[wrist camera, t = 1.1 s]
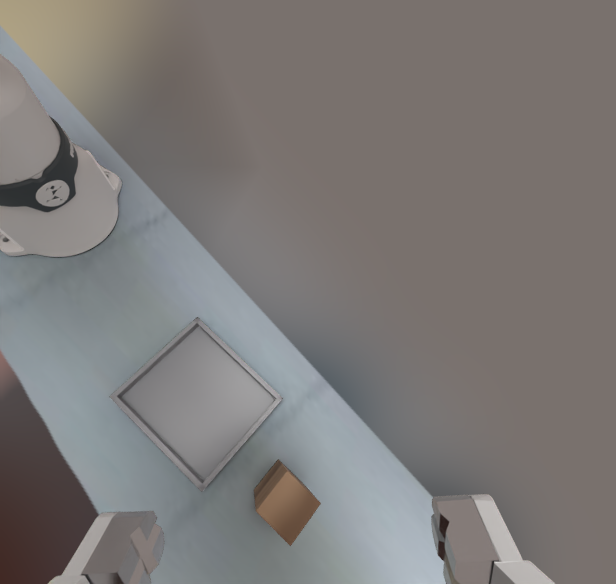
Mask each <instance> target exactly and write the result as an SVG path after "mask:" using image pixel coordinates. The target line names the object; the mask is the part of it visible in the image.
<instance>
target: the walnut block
mask: <svg viewBox="0 0 616 584" xmlns="http://www.w3.org/2000/svg"><path fill="white" fill-rule="evenodd" d="M254 497H255V507H256V512H257V513H258V514H259V515H260V516H261V517H262V518H263V519H264V520H265V521H266V522H267V523H268V524H269V525H270V526H271V527H272V528H273V529H274V530H275V531H276V532H277V533H278V534H279V535H280V536H281V537H282V538H283V539H284V540H285V541H286V542H287V543H288V544H289V545H290V546H291V545H292V543H293V542H294V540H295V539H296V538H297V536H298V535H299V533H300V532H301V531H302V529H303V528H304V526H305V525H306V524H307V522H308V521H309V519H310V518H311V517H312V515H313V514H314V512H315V511H316V510H317V508H318V507H319V505H320V504H321V503H320V502H319V501H318V500H317V499H316V498H315V496H314V495H313V494H312V493H311V492H310V491H309V490H308V488H307V487H306V486H305V485H304V484H303V483H302V482H301V481H300V480H299V479H298V478H297V477H296V476H295V475H294V474H293V473H292V472H291V471H290V470H289V469H288V468H287V467H286V466H285V465H284V464H283V463H282V462H281V461H280V460H277V461H276V463H275V464H274V465H273V466H272V468H271V469H270V470H269V471H268V473H267V474H266V475H265V476H264V478H263V479H262V480H261V481H260V483H259V484H258V485H257V486H256V487H255V489H254Z"/></svg>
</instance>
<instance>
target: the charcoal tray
mask: <svg viewBox="0 0 616 584" xmlns="http://www.w3.org/2000/svg"><path fill="white" fill-rule="evenodd" d="M109 397H110V398H111V399H112V400H113V401H114V402H115V403H116V404H117V405H118V406H119V407H120V408H121V409H122V410H123V411H124V412H125V413H126V414H127V415H128V416H129V418H130V419H131V420H132V421H133V422H134V423H135V424H136V425H137V426H138V427H139V428H140V429H141V430H142V431H143V432H144V433H145V434H146V435H147V436H148V437H149V438H150V439H151V440H152V441H153V442H154V443H155V444H156V445H157V446H158V447H159V448H160V449H161V450H162V452H163V453H164V454H165V455H166V456H167V457H168V458H169V459H170V460H171V461H172V462H173V463H174V464H175V465H176V466H177V467H178V468H179V469H180V470H181V471H182V472H183V473H184V474H185V475H186V476H187V477H188V478H189V479H190V480H191V481H192V482H193V483H194V484H195V485H196V487H197V488H198V489H199V490H200V491H201V492H202V491H203V490H204V489H205V488H206V487H207V486H208V484H209V483H210V482H211V481H212V480H213V479H214V478H215V476H216V475H217V474H218V473H219V472H220V471H221V469H222V468H223V467H224V466H225V465H226V464H227V463H228V461H229V460H230V459H231V458H232V457H233V456H234V454H235V453H236V452H237V451H238V450H239V449H240V448H241V446H242V445H243V444H244V443H245V442H246V441H247V439H248V438H249V437H250V436H251V435H252V434H253V433H254V431H255V430H256V429H257V428H258V427H259V426H260V424H261V423H262V422H263V421H264V420H265V419H266V418H267V416H268V415H269V414H270V413H271V412H272V411H273V410H274V408H275V407H276V406H277V405H278V404H279V403H280V401H281V400H282V399H283V398H282V397H281V396H280V395H279V394H278V393H277V392H276V391H275V390H274V389H273V388H272V387H271V386H270V385H269V384H268V383H266V382H265V381H264V380H263V379H262V378H261V377H260V376H259V375H258V374H257V373H256V372H255V371H254V370H253V369H252V368H251V367H250V366H249V365H247V364H246V363H245V362H244V361H243V360H242V359H241V358H240V357H239V356H238V355H237V354H236V353H235V352H234V351H233V350H232V349H231V348H230V347H229V346H227V345H226V344H225V343H224V342H223V341H222V340H221V339H220V338H219V337H218V336H217V335H216V334H215V333H214V332H213V331H212V330H211V329H210V328H208V327H207V326H206V325H205V324H204V323H203V322H202V321H201V320H200V319H199V318H198V317H197V318H196V319H194V320H193V321H192V322H191V323H190V324H189V325H188V326H187V327H186V328H184V329H183V330H182V331H181V332H180V333H179V334H178V335H177V336H176V337H175V338H173V339H172V340H171V341H170V342H169V343H168V344H167V345H166V346H165V347H163V348H162V349H161V350H160V351H159V352H158V353H157V354H156V355H155V356H153V357H152V358H151V359H150V360H149V361H148V362H147V363H146V364H145V365H144V366H142V367H141V368H140V369H139V370H138V371H137V372H136V373H135V374H134V375H132V376H131V377H130V378H129V379H128V380H127V381H126V382H125V383H124V384H123V385H121V386H120V387H119V388H118V389H117V390H116V391H115V392H114V393H113V394H111V395H110V396H109Z"/></svg>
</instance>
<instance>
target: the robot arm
mask: <svg viewBox="0 0 616 584" xmlns="http://www.w3.org/2000/svg"><path fill="white" fill-rule="evenodd" d="M121 187H122V181H121V180H120V178H119V177H118V176H117V175H116V174H114V173H112V172H111V171H109V170H107V169H106V168H104V167H103V166H101V165H99V164H98V163H97V161H96V160H95V158H94V157H93V155H92V154H91V153H90V152H89V151H88V150H83V149H82V148H81V147H79V146H77V145H75V144H73V143H72V142H71V141H70V139H69V137H68V135H67V134H66V133H65V131H64V130H63V129H62V128H61V127H60V126H59V124H58V123H57V122H56V121H55V120H54V119H53V118H51V117H50V116H49V115H48V114H47V112H46V111H45V109H44V108H43V106H42V104H41V103H40V101H39V100H38V98H37V97H36V95H35V94H34V92H33V91H32V89H31V88H30V86H29V85H28V83H27V81H26V80H25V78H24V77H23V75H22V74H21V72H20V71H19V70H18V69H17V68H16V67H15V66H14V65H13V64H12V63H11V62H10V61H9V60H7V59H6V58H5V57H4V56H2V55H1V54H0V249H1V251H3V252H4V253H5V254H6V255H8V256H21V255H27V254H38V255H43V256H49V257H65V256H72V255H76V254H79V253H82V252H85V251H87V250H89V249H91V248H93V247H95V246H96V245H98V244H99V243H100V242H102V241H103V240H104V239H105V238H106V237H107V236H108V235H109V234H110V232H111V231H112V229H113V228H114V226H115V224H116V221H117V217H118V201H117V198H118V194H119V192H120V190H121ZM7 240H9V241H8V242H6V241H7ZM432 508H433V511H434V514H433V515H432V516H431V525H432V532H433V538H434V542H435V546H436V550H437V554H438V556H439V557H440V558H441V559H442V560H443V561H444V571H443V575H444V578H445V582H446V584H555V583H554V582H553V581H551V580H550V579H549V578H548V577H547V576H546V575H545V574H544V573H543V572H541V571H540V570H539V569H538V568H537V567H536V566H535V565H534V564H533V563H531V562H530V561H523V559H522V557H521V555H520V553H519V551H518V549H517V547H516V545H515V543H514V541H513V539H512V537H511V535H510V533H509V531H508V529H507V527H506V525H505V523H504V521H503V518H502V516H501V514H500V512H499V510H498V508H497V506H496V504H495V502H494V500H493V498H492V497H490V495H488V494H482V495H457V496H442V497H433V499H432ZM156 519H157V517H156V515H155V513H154V511H136V512H107V513H101V514H100V515H99V516H98V517H97V518H96V519H95V521H94V523H93V524H92V526H91V528H90V529H89V531H88V533H87V534H86V536H85V537H84V539H83V541H82V542H81V544H80V546H79V547H78V549H77V551H76V552H75V554H74V556H73V557H72V559H71V561H70V562H69V564H68V566H67V567H66V569H65V571H64V572H63V574H62V575H61V576H56V577H55V578H54V579H53V580H51V581H50V582H49V583H48V584H151V579H150V573H151V572H152V571H153V570H154V569H155V568H156V567H157V566H158V564H159V562H160V559H161V556H162V553H163V547H164V533H163V531H162V528H161V527H159V526H158V525H156V524H155V522H156Z"/></svg>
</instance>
